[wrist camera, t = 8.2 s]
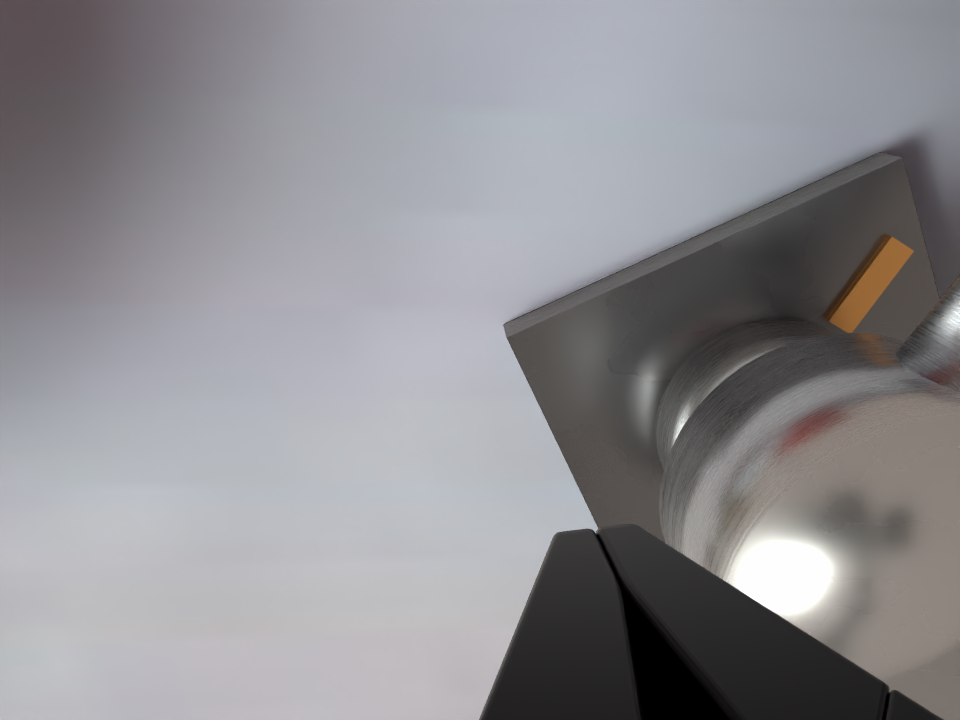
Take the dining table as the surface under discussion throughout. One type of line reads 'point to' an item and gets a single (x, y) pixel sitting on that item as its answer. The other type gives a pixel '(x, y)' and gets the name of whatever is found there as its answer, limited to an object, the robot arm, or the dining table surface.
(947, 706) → the elbow
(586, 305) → the flange plate
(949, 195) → the dining table surface
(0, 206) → the dining table surface
